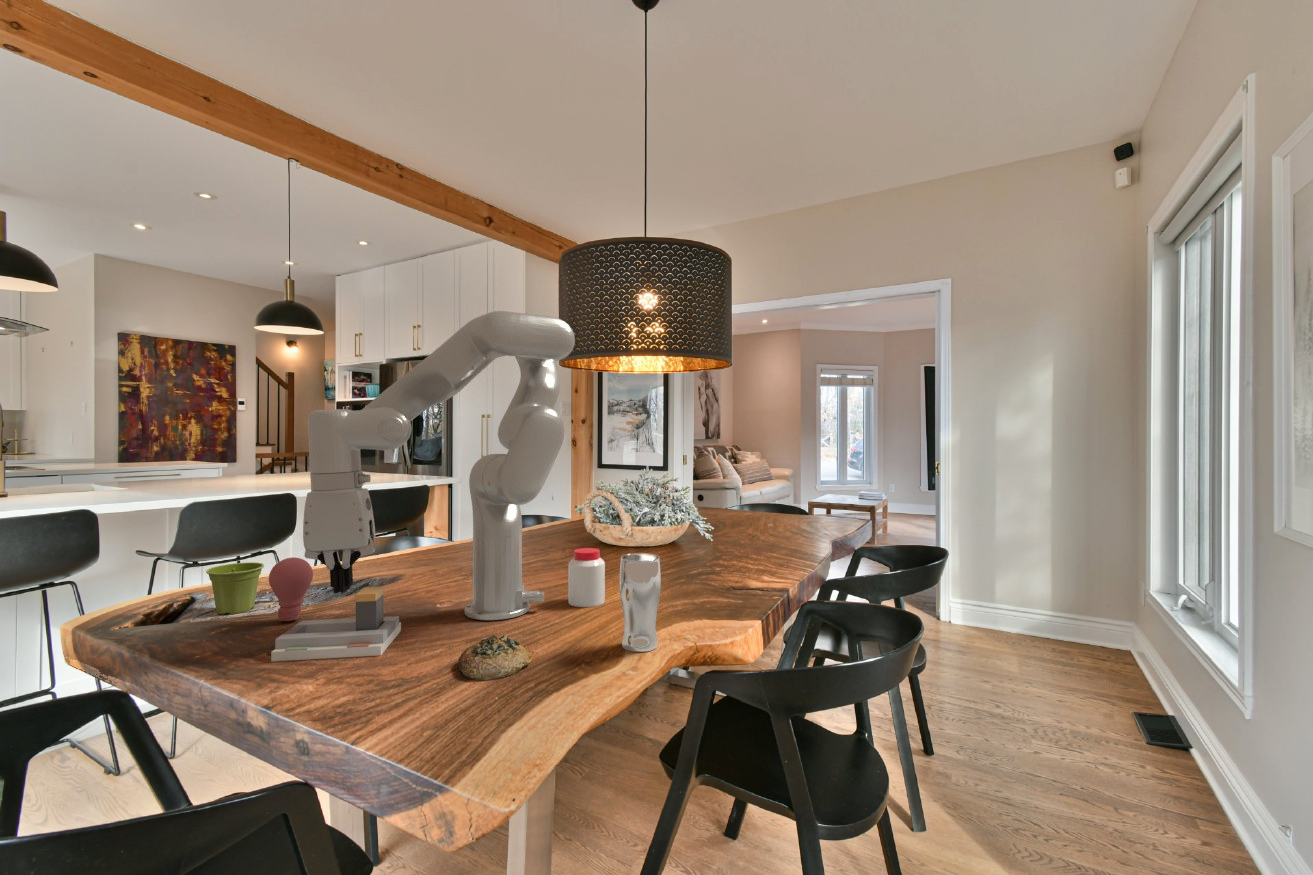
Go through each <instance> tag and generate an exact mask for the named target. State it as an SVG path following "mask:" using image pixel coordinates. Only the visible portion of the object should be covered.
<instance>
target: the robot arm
mask: <svg viewBox="0 0 1313 875" xmlns="http://www.w3.org/2000/svg"><path fill="white" fill-rule="evenodd" d="M575 342H576V338H575V333H574V331H573V328H572V327H571V326H570V325H569V324H568V323H567V322H566V321H564V320H563V319H561V318H559V317H555V316H548V315H539V314H538V315H537V314H531V313H530V314H529V313H525V312H524V313H522V312H516V311H515V312H514V311H504V310H496V311H490V312H488V313H485V314H482V315H480V316H477V317H475V318H473V319H470V320H469V321H467V323H465V324H464V325H463V326H462V327H461V328H459V330H457V331H455V333H454V334H453V335H451V336H450V337H449V338H448V339H447V340H446V341H444V342H443V343H442V344H440V346H438V348H436V349H435V350H433V352H432V353H430V354H429V355H428V356H426V357H425V358H424V359H423V360H421V361H420V362H419V363H417V365H415V366H413V368H411V369H410V370H409V371H408V372H406V373H405V374H404V375H403V376H402V377H400V378H399V379H398V380H396V381H395V382H393V383H392V384H391V385H390V386H388V387H386V389H385V390H383V391H382V392H381V393H380V394H379V395H378V396H376V397H375V398H374V399H372V401H370V402H369V403H368V404H367V405H365V407H363V408H362V409H360V410H358V409H357V410H352V409H347V408H346V409H345V408H342V409H341V408H336V409H335V408H333V409H331V408H330V409H316V410H313V411H311V412H310V413H309V414H308V417H307V435H308V436H307V437H308V456H309V457H308V458H309V460H308V461H309V472H310V473H309V474H310V477H309V478H310V491H309V492H307V494H306V496H305V503H304V511H303V520H302V521H303V523H302V526H303V527H302V541H303V547H304V549H305V550H304V551H305V552H304V558H306V559H309V560H318V561H319V562H320V563H322V564H323V565H324V566H325V567H326V569H327V570H329V578H330V579H329V580H330V581H329V582H330V583H329V584H330V587H331V588H332V589H333V594H338V593H342V594H344V593H346V592H347V591H348V590H349V589H350V588H351V586H352V585H353V583H354V578H353V577H354V576H353V574H354V573H353V565H354V564H355V563H356V562H357V561H358V560H359V559H360V558H361V557H366V556H368V555H372V554H373V553H375V551H376V547H375V544H374V543H375V540H376V526H375V519H374V511H373V505H372V500H371V497H370V493H369V489H368V488H364V487H363V486H364V484H366V483H370V482H371V479H372V478H371V475H370V474H366V473H364V471H363V470H362V458H361V450H377V451H392V450H396V449H398V448H400V447H402V446H404V444H406V442H407V441H408V440H410V437H411V435H412V430H413V428H412V423H411V422H412V421H413V420H414V419H415V418H416V417H418V416H419V415H421V414H422V413H424V412H426V411H427V410H428V409H430V408H432V407H434V406H437V405H439V404H440V403H443V402H445V401H448V400H449V399H451V398H452V397H454V396H455V395H457V394H459V393H460V392H461V391H462V390H463V389H464V388H465V387H466V386H468V384H469V383H470V382H472V381H473V380H474V378H475V377H477V376H479V374H480V373H482V371H483V370H484V369H486V368H488V366H489V365H490V364H491V363H492V362H494V361H495V360H496V359H497V358H501V357H506V356H507V357H515V360H516V361H517V364H518V366H519V370H520V378H519V383H518V386H517V387H516V388H517V389H516V391H515V393H514V394H513V397H512V398H511V401H510V402H509V405H508V406H507V409H506V411H505V413H504V415H502V416H503V417H502V418H501V421H500V423H499V425H498V429H497V438H498V440H499V443H500V445H502V446H503V448H505V449H506V450H507V453H492V454H491V453H490V454H487V455H485V456H483V457H481V458H479V459H478V460H477V461H476V462H475V463H474V465H473V466H472V468H471V470H470V474H469V478H468V486H469V494H470V500H471V508H472V602H469V603H468V604H466V605H465V606H464V609H463V610H464V615H465V616H466V617H468V618H470V619H472V620H473V619H474V620H477V621H478V620H480V621H499V620H508V619H512V618H513V619H514V618H517V617H519V616H522V615H524V614H526V613H527V612H529V610H530V607H531V606H530V603H531V602H532V603H533V602H535V603H540V602H541V603H544V602H545V591H539V590H538V589H537V590H527V589H525V583H523V578H522V577H523V573H522V572H523V569H522V568H523V518H522V511H521V510H522V509H521V506H522V505H523V506H524V505H526V504H528V503H530V502H532V501H533V500H534V499H536V497H537V496H538V495H539V494H540V492H541V490H542V489H543V487H544V485H545V483H546V481H547V479H548V477H549V475H550V472H551V471H552V467H553V466H554V464H555V461H556V459H557V457H558V455H559V453H560V450H561V448H562V445H563V443H564V438H565V424H564V420H563V419H562V417H561V415H560V413H559V412H558V411H556V410H555V409H554V408H555V406H556V403H557V401H558V398H559V395H560V390H561V381H560V376H559V373H558V370H557V366H556V362H557V361H561V360H564V359H565V358H566V357H568V356H569V355H570V354H571V353H572V351H573V349H574V347H575V344H576V343H575ZM340 551H342V560H340V556H339V552H340Z"/></svg>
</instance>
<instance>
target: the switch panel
mask: <svg viewBox="0 0 1313 875" xmlns="http://www.w3.org/2000/svg"><path fill="white" fill-rule="evenodd" d="M401 631H402V622H400V616H399V615H397V616H392V615H391V616H383V624H382V625H381V626H380V627H379V628H378V630H360V631H356V617H355V618H353V617H351V618H335V619H334V618H331V619H327V618H326V619H308V620H300V621H299V622H298V623H296V624H295V625H294V626H292V627H291V628H289V629H288V630H287V631H285V632H284V633H282V634H281V635H279V636H278V637H276V639H275V640H274V641H275V645H274V647H275V648H274V649H273V650H272V651H271V652H270V654H271V657H270V658H271V659H270V660H271V662H288V661H302V660H303V661H305V660H306V661H307V660H321V659H322V660H323V659H341V658H357V657H361V658H362V657H374V656H375V657H376V656H377V657H379V656H382V655H383V653H384V652H385V651H386V650H387V649H388V647H390V645H391V643H392V642H394V640H395V638H397V636H398V635H399V634H400V632H401Z"/></svg>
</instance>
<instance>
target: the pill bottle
mask: <svg viewBox="0 0 1313 875" xmlns="http://www.w3.org/2000/svg"><path fill="white" fill-rule="evenodd" d="M600 553H601V552H600V549H599V548H593V547H582V548H581V547H580V548H576V549H574V550H573V558H572V559H570V560H569V562H568V563H567V564H568V571H567V572H568V574H567V575H568V581H567V585H568V588H567V592H568V596H567V597H568V599H567V600H568V602H567V603H568V604H569V605H570V606H572V607H576V608H592V607H593V608H594V607H598V606H601V605H603V604H604V603H605V601H606V562H605V560H604V559H603V558H601V556H600V555H601V554H600Z"/></svg>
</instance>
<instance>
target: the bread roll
mask: <svg viewBox="0 0 1313 875" xmlns="http://www.w3.org/2000/svg"><path fill="white" fill-rule="evenodd" d="M532 657H533V656H531V654H530V653H529V652H528V650H527V649H526V648H525V646H523V645H522V644H521V643H519V642H518V641H517V640H515V639H513V638H509V637H508V635H504V634H503V636H500V637H497V635H496V634H492V635H491V636H490V637H488V638H487V637H483V638H482V639H481V640H480V641H477V642H476V643H474V644H473V645H472V646H469V647H466V649H464V651H463V652H461V655H460V656H459V657H458V661H457V665H458V666H457V667H458V668H459V672H460V673H462V675H463V677H465V678H468V679H472V680H479V681H489V680H495V679H500V678H505V677H508V676H511V675H514V674H516V673H518V672H519V671H521V669H522V668H524V667H526V666H528V664H529V663H530V662H532Z"/></svg>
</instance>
